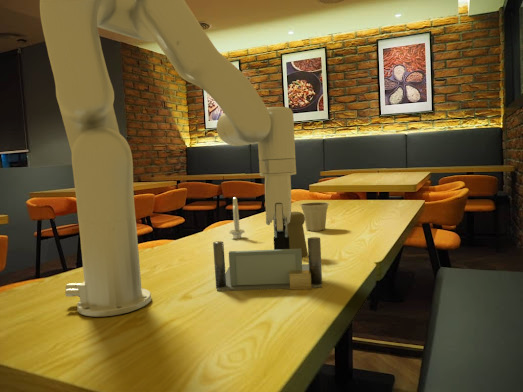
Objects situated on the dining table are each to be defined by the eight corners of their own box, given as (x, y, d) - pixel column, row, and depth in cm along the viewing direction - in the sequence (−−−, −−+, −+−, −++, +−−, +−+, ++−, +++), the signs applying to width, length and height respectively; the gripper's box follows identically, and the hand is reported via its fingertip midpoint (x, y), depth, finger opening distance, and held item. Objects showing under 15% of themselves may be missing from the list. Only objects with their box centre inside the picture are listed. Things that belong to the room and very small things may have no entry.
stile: (290, 289, 79) (287, 242, 78) (290, 283, 83) (287, 238, 82) (323, 288, 79) (321, 241, 78) (321, 282, 83) (319, 236, 82)
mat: (217, 290, 81) (216, 289, 81) (228, 268, 97) (228, 267, 97) (321, 287, 80) (321, 285, 80) (316, 265, 96) (316, 263, 95)
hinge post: (215, 289, 82) (212, 243, 81) (217, 286, 84) (214, 241, 83) (225, 288, 82) (222, 243, 81) (227, 285, 84) (224, 241, 83)
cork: (306, 258, 102) (304, 213, 101) (282, 258, 103) (279, 214, 102) (309, 252, 108) (307, 210, 107) (285, 252, 109) (283, 210, 108)
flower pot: (297, 229, 143) (295, 203, 142) (322, 226, 146) (321, 201, 145) (308, 233, 134) (307, 206, 133) (335, 230, 137) (333, 203, 136)
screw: (245, 236, 135) (244, 239, 130) (230, 237, 135) (229, 240, 130) (242, 195, 134) (242, 197, 129) (227, 196, 134) (226, 198, 129)
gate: (230, 285, 82) (228, 252, 81) (231, 283, 84) (229, 251, 83) (302, 283, 81) (301, 250, 80) (302, 281, 82) (301, 248, 82)
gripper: (262, 168, 95) (266, 248, 97) (256, 170, 80) (261, 265, 82) (295, 166, 94) (299, 247, 96) (296, 168, 79) (300, 264, 81)
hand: (282, 255), depth 89 cm, fingers closed
